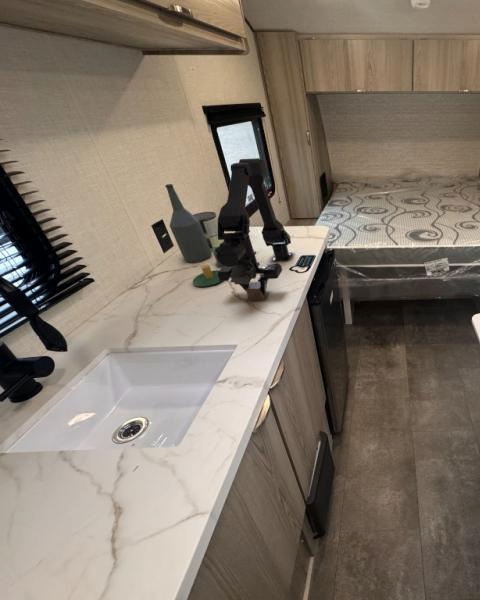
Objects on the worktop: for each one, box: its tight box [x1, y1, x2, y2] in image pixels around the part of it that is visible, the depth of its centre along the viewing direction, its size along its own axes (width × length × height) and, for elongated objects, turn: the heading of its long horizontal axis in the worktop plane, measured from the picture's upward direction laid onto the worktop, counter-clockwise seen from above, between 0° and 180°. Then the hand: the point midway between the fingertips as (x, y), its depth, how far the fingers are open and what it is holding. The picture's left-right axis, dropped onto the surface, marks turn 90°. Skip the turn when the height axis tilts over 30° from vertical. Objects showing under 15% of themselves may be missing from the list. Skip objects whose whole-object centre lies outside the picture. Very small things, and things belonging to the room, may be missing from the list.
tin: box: [212, 246, 224, 268], centre depth 131 cm, size 10×10×6 cm
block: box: [244, 281, 268, 302], centre depth 108 cm, size 4×4×4 cm
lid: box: [192, 264, 222, 287], centre depth 118 cm, size 11×11×6 cm
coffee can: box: [193, 211, 224, 251], centre depth 142 cm, size 10×10×14 cm
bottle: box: [165, 183, 212, 264], centre depth 128 cm, size 10×10×30 cm
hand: (257, 294), depth 109 cm, fingers closed on block, 4 cm apart
